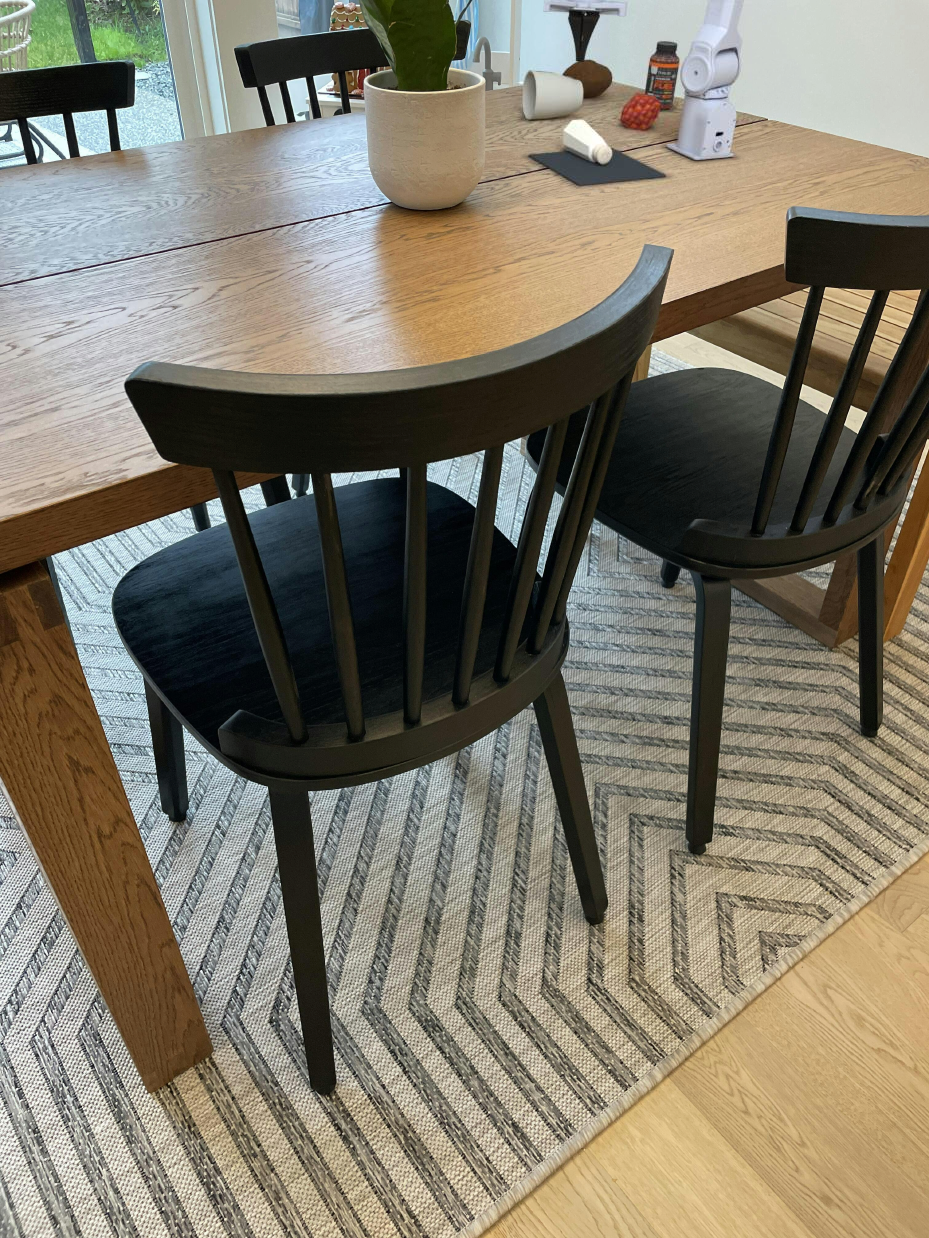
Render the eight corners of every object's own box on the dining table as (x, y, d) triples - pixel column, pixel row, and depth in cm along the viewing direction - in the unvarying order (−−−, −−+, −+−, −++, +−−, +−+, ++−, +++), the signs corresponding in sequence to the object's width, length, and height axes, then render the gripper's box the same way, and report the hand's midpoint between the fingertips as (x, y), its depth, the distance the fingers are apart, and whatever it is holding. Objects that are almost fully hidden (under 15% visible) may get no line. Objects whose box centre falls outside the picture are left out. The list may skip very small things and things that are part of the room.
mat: (665, 177, 149) (666, 175, 148) (578, 186, 144) (578, 184, 143) (610, 149, 161) (610, 147, 161) (528, 156, 156) (528, 154, 156)
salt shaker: (555, 146, 158) (584, 167, 150) (570, 113, 155) (600, 132, 147) (580, 157, 160) (609, 178, 153) (594, 125, 158) (625, 144, 150)
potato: (618, 99, 192) (622, 60, 188) (571, 103, 188) (575, 64, 184) (600, 92, 197) (604, 55, 192) (554, 96, 193) (557, 58, 188)
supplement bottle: (650, 111, 184) (659, 45, 177) (638, 104, 189) (646, 40, 181) (677, 110, 186) (687, 45, 178) (664, 103, 190) (674, 39, 183)
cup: (584, 63, 172) (533, 61, 170) (588, 107, 173) (538, 107, 170) (568, 85, 180) (520, 84, 178) (572, 127, 181) (524, 127, 178)
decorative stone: (625, 136, 177) (666, 121, 174) (622, 139, 172) (665, 123, 169) (616, 101, 175) (658, 84, 172) (613, 102, 169) (656, 85, 166)
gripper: (543, -30, 158) (537, 61, 166) (628, -25, 155) (617, 67, 164) (549, -34, 163) (543, 55, 172) (631, -30, 161) (621, 60, 169)
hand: (580, 60), depth 168 cm, fingers closed
